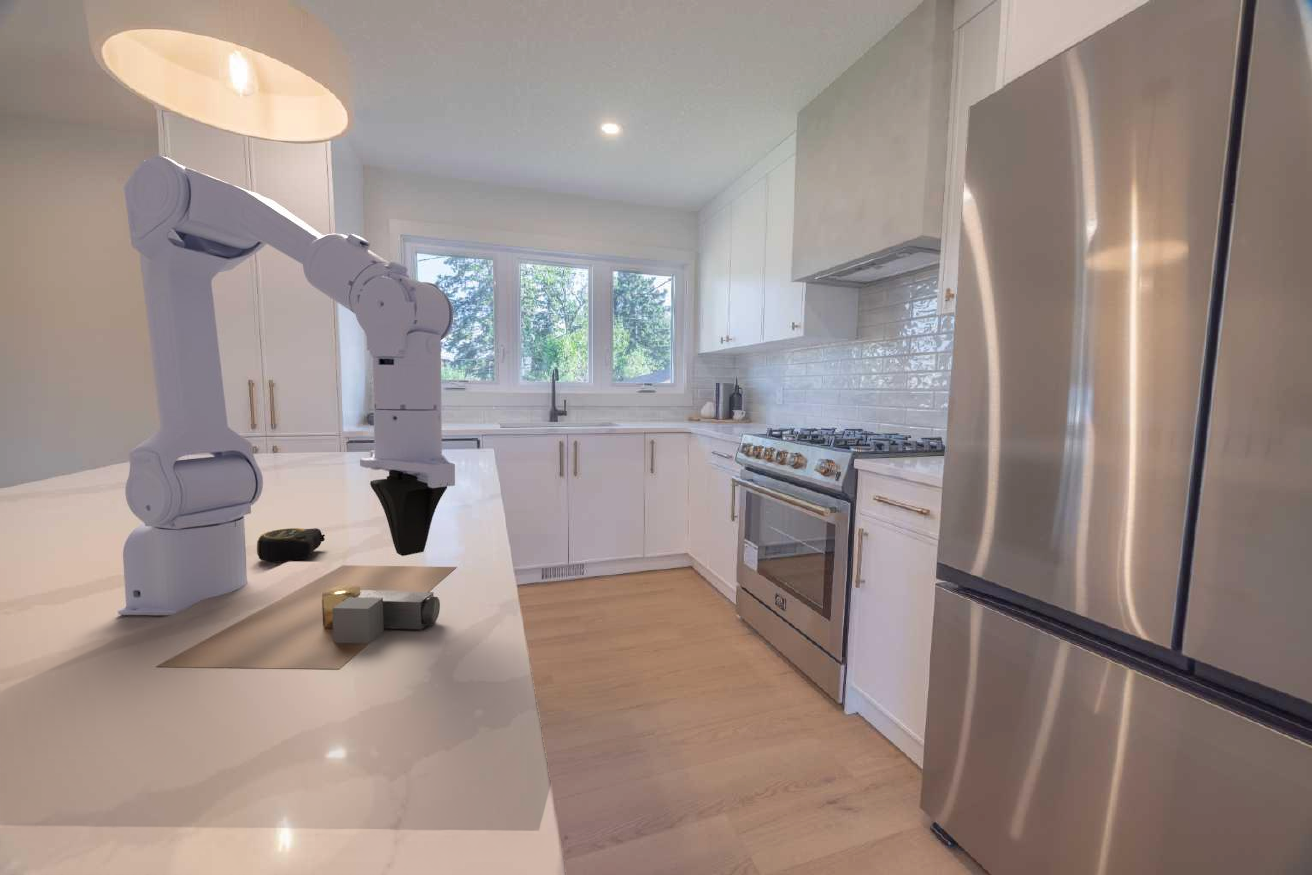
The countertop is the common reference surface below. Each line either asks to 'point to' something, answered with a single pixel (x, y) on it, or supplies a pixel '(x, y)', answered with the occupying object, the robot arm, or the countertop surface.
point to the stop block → (357, 620)
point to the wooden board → (301, 624)
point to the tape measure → (288, 544)
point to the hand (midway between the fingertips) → (410, 552)
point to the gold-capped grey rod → (387, 606)
